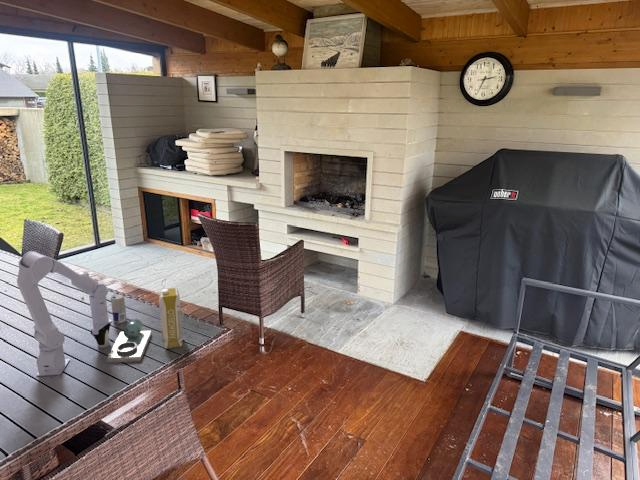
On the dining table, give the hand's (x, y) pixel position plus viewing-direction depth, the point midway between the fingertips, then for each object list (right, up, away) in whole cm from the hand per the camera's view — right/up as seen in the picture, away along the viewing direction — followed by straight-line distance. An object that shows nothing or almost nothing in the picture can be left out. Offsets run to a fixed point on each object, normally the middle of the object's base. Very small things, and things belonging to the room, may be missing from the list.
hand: (103, 341), depth 177 cm
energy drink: (-2, +4, +20) cm, 20 cm away
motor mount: (+11, -2, -1) cm, 12 cm away
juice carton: (+27, -2, +4) cm, 27 cm away
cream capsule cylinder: (0, -2, +1) cm, 2 cm away
